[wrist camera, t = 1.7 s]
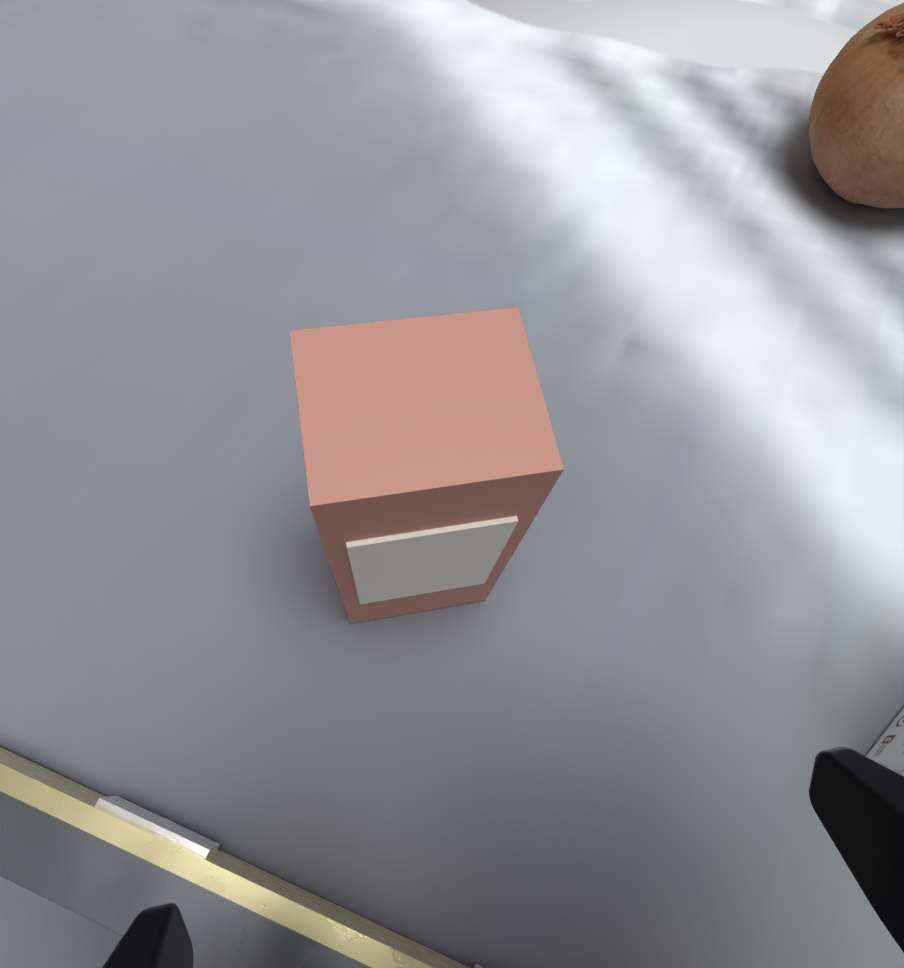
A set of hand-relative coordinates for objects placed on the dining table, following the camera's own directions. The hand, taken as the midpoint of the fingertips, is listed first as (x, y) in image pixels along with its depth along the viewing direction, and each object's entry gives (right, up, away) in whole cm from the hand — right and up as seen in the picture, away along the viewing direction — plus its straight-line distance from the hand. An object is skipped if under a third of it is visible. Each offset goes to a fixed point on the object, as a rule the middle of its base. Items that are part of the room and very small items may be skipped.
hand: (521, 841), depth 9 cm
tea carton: (-3, +2, +15) cm, 16 cm away
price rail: (-5, -9, +10) cm, 15 cm away
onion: (+21, +21, +26) cm, 40 cm away
